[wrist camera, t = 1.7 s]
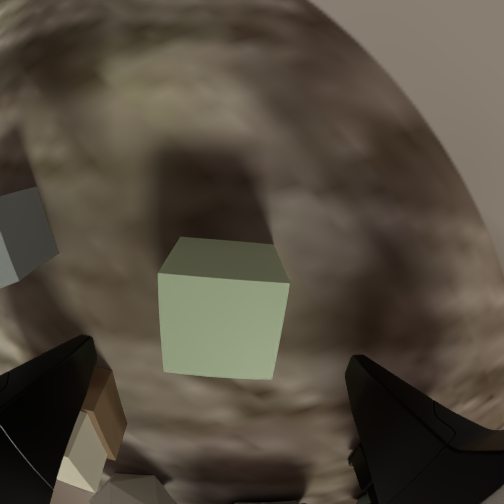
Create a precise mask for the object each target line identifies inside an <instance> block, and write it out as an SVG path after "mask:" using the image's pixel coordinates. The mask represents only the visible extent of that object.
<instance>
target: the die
mask: <svg viewBox="0 0 504 504" xmlns="http://www.w3.org/2000/svg"><path fill="white" fill-rule="evenodd" d="M89 502H90V504H177V503H176V502H175V501H174V500H173V498H172V497H171V496H170V495H169V493H168V492H167V491H166V490H165V488H164V487H163V486H162V484H161V483H160V482H159V480H158V479H157V478H156V476H155V475H134V474H120V473H114V474H113V475H112V476H111V477H110V479H109V480H108V481H107V482H106V483H105V484H104V485H103V486H102V487H101V489H100V490H99V491H98V492H97V493H96V494H95V495H94V496H93V497H92V498H91V499H90V500H89Z"/></svg>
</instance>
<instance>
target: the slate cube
mask: <svg viewBox="0 0 504 504" xmlns="http://www.w3.org/2000/svg"><path fill="white" fill-rule="evenodd" d="M57 254H59V251H58V248H57V246H56V243H55V240H54V238H53V235H52V232H51V229H50V226H49V223H48V220H47V217H46V214H45V211H44V208H43V205H42V201H41V198H40V194H39V191H38V187H37V186H36V187H32V188H28V189H24V190H20V191H17V192H13V193H9V194H6V195H2V196H0V288H3V287H5V286H8V285H10V284H13V283H16V282H18V281H20V280H22V279H23V278H24V277H26V276H27V275H28V274H30V273H31V272H33V271H34V270H35V269H37V268H38V267H40V266H41V265H43V264H44V263H45V262H47V261H48V260H50V259H51V258H53V257H54V256H56V255H57Z"/></svg>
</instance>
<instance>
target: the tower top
mask: <svg viewBox="0 0 504 504" xmlns="http://www.w3.org/2000/svg"><path fill="white" fill-rule="evenodd" d="M106 458H107V453H106V451H105V449H104V447H103V445H102V443H101V441H100V439H99V437H98V435H97V433H96V431H95V429H94V427H93V425H92V423H91V420H90V418H89V416H88V414H87V413H85V412H82V411H80V413H79V415H78V418H77V420H76V423H75V426H74V428H73V431H72V434H71V437H70V440H69V442H68V445H67V448H66V451H65V454H64V457H63V460H62V463H61V466H60V469H59V473H58V476H57V479H58V480H61V481H63V482H66V483H68V484H71V485H73V486H76V487H79V488H82V489H85V490H87V491H90V492H94V493H96V492H97V488H98V485H99V481H100V478H101V475H102V471H103V468H104V465H105V462H106Z"/></svg>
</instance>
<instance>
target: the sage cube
mask: <svg viewBox="0 0 504 504" xmlns="http://www.w3.org/2000/svg"><path fill="white" fill-rule="evenodd" d="M289 286H290V282H289V280H288V277H287V275H286V272H285V270H284V268H283V265H282V263H281V260H280V258H279V256H278V253H277V251H276V248H275V246H274V244H264V243H252V242H240V241H228V240H216V239H203V238H190V237H180V238H179V240H178V241H177V243H176V244H175V246H174V247H173V249H172V251H171V252H170V254H169V255H168V257H167V259H166V260H165V262H164V264H163V265H162V267H161V269H160V270H159V272H158V296H159V317H160V333H161V346H162V358H163V368H164V372H169V373H178V374H187V375H197V376H208V377H221V378H239V379H269V380H272V377H273V372H274V367H275V362H276V357H277V352H278V347H279V342H280V336H281V331H282V326H283V320H284V315H285V309H286V304H287V298H288V292H289Z"/></svg>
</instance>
